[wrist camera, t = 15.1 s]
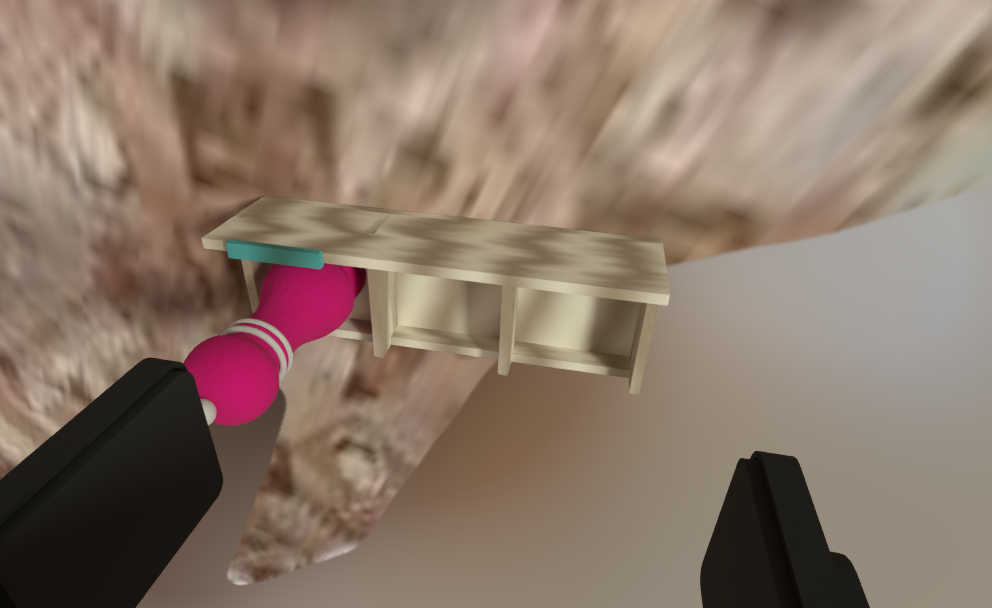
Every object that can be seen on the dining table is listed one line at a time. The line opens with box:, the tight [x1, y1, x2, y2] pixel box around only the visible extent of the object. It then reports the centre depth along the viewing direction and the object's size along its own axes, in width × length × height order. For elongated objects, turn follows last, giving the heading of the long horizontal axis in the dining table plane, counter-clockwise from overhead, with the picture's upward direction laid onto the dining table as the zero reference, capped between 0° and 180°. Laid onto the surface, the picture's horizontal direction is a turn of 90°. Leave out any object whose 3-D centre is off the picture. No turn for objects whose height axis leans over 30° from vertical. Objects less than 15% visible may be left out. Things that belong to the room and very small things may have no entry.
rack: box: [201, 196, 670, 394], centre depth 47 cm, size 33×12×9 cm, turn 88°
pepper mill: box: [183, 263, 366, 426], centre depth 43 cm, size 7×7×20 cm
